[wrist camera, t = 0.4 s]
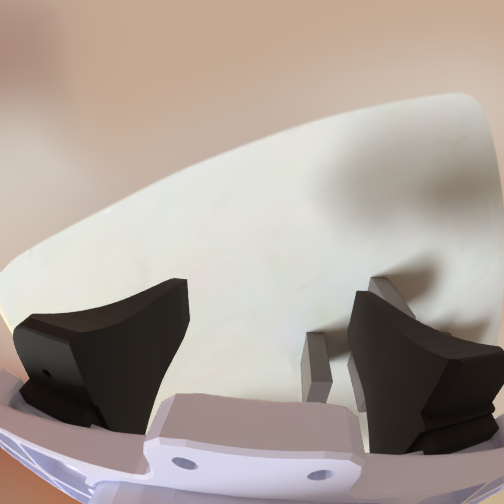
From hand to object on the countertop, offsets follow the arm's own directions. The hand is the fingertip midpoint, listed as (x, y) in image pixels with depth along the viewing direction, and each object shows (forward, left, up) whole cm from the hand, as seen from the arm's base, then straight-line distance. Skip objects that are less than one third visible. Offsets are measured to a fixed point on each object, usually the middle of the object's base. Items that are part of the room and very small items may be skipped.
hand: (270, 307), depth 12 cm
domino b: (-10, -4, -10) cm, 14 cm away
